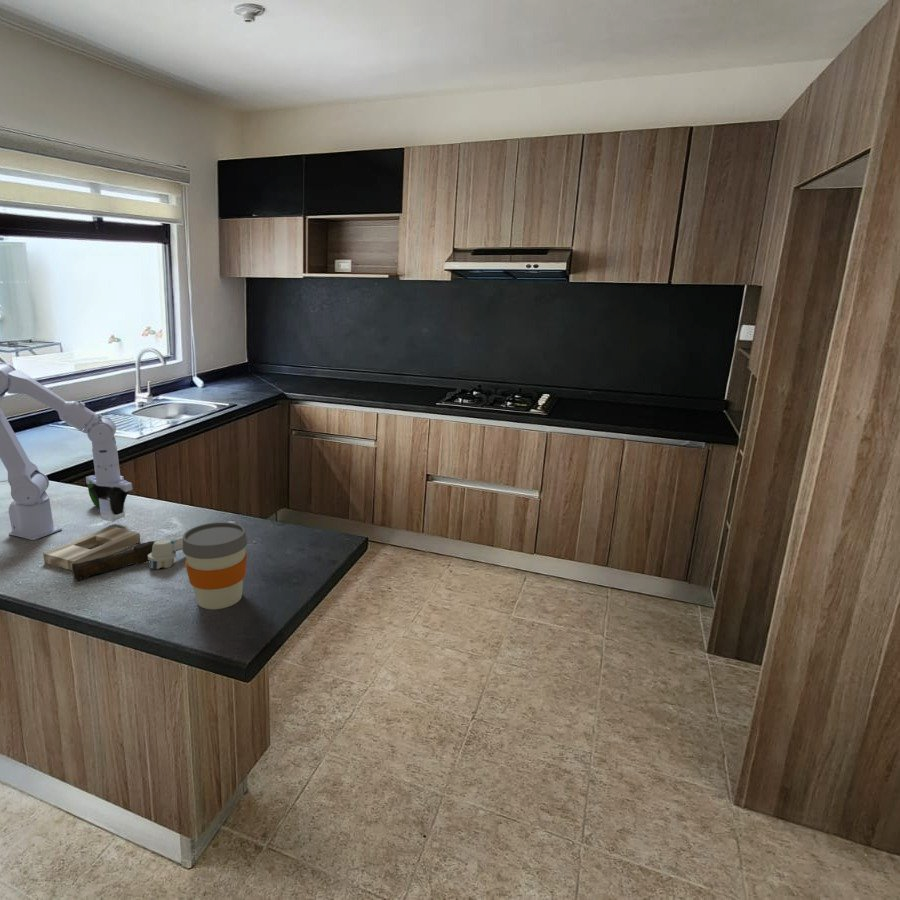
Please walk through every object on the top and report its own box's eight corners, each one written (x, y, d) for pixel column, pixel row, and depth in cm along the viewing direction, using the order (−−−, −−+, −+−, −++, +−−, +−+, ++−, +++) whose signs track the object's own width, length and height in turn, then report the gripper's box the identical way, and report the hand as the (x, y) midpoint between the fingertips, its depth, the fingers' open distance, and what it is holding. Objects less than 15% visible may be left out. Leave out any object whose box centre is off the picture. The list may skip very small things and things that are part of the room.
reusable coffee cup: (231, 578, 135) (226, 517, 131) (262, 597, 128) (258, 533, 124) (176, 598, 126) (169, 533, 122) (206, 621, 118) (200, 551, 114)
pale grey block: (101, 519, 160) (98, 498, 159) (114, 514, 164) (111, 493, 162) (112, 521, 159) (109, 500, 157) (125, 516, 163) (122, 496, 161)
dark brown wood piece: (76, 584, 131) (73, 565, 130) (72, 577, 134) (69, 558, 133) (167, 560, 143) (165, 543, 142) (161, 555, 146) (159, 537, 145)
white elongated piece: (241, 521, 158) (157, 543, 135) (240, 546, 159) (157, 571, 136) (227, 517, 160) (142, 538, 138) (226, 541, 161) (142, 565, 139)
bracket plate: (44, 563, 140) (43, 553, 139) (111, 534, 156) (110, 526, 155) (75, 571, 136) (73, 561, 136) (140, 541, 152) (139, 532, 152)
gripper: (139, 464, 159) (144, 511, 162) (100, 456, 164) (105, 503, 167) (116, 471, 152) (122, 520, 156) (76, 463, 157) (82, 511, 161)
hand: (112, 512), depth 161 cm, fingers closed on pale grey block, 4 cm apart
